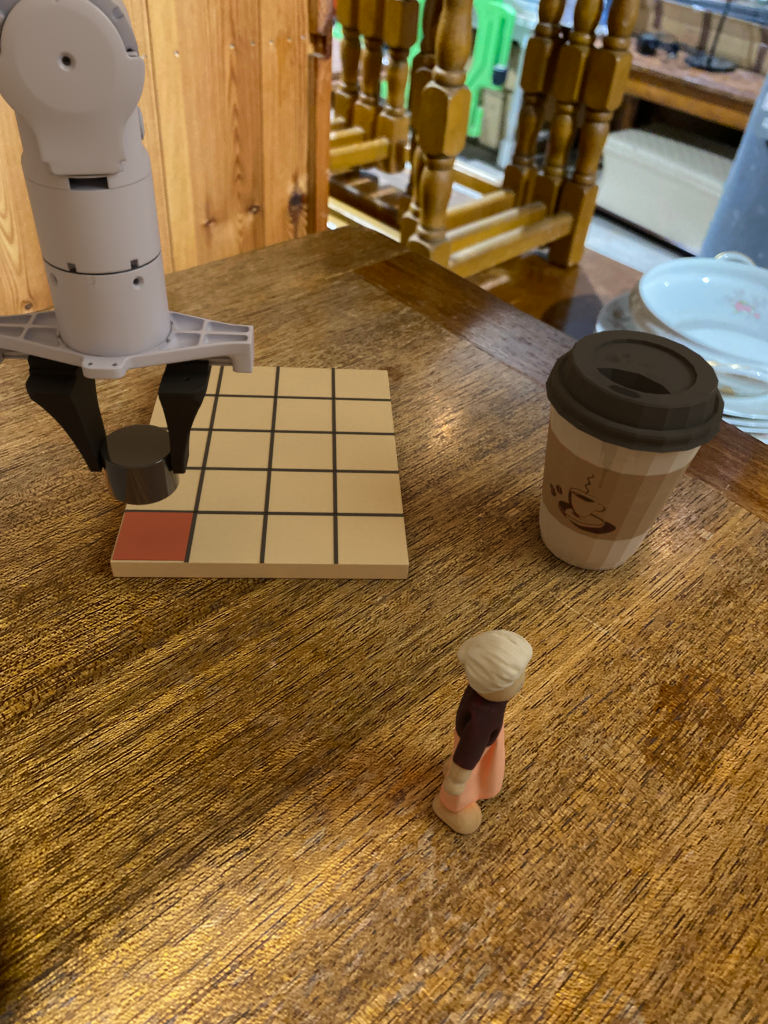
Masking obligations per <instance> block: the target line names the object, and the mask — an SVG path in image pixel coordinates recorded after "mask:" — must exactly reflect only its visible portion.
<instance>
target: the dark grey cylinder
mask: <svg viewBox="0 0 768 1024" xmlns="http://www.w3.org/2000/svg"><path fill="white" fill-rule="evenodd" d="M149 424H150V423H149ZM149 424H148V423H137V424H130V425H126V426H122V427H119V428H117V429H115V430H113V431H111V432H109V434H106V437H105V438H104V439H103V441H102V443H101V445H100V455H101V460H102V464H103V469H102V470H103V472H104V477H105V483H106V487H107V490H108V493H109V494H110V495H111V496H112V497H113V498H114V499H115V500H116V501H118V502H121V503H123V504H131V505H148V504H153V503H156V502H159V501H162V500H164V499H166V498H167V497H169V496H170V495H171V494H172V493H174V492H175V490H176V489H177V487H178V485H179V481H180V477H179V474H174V473H173V470H172V465H171V455H170V439H169V432H168V431H167V430H165V429H163V428H161V427H158V426H154V425H149Z"/></svg>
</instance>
